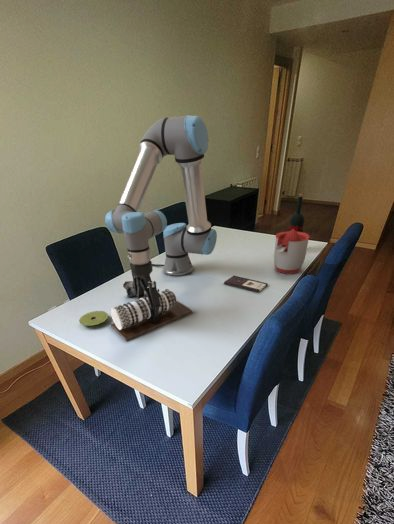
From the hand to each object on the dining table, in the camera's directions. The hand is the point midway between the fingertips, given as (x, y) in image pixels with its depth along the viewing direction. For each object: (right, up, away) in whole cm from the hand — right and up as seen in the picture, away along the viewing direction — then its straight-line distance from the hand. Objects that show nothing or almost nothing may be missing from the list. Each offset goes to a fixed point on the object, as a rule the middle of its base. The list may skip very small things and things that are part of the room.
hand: (150, 317), depth 116 cm
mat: (-23, -2, +2) cm, 23 cm away
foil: (-6, +11, +17) cm, 21 cm away
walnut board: (+1, -1, +1) cm, 2 cm away
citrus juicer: (+64, +28, +34) cm, 78 cm away
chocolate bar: (+42, +18, +23) cm, 50 cm away
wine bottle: (+74, +44, +55) cm, 102 cm away
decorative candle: (-11, -2, -9) cm, 15 cm away
